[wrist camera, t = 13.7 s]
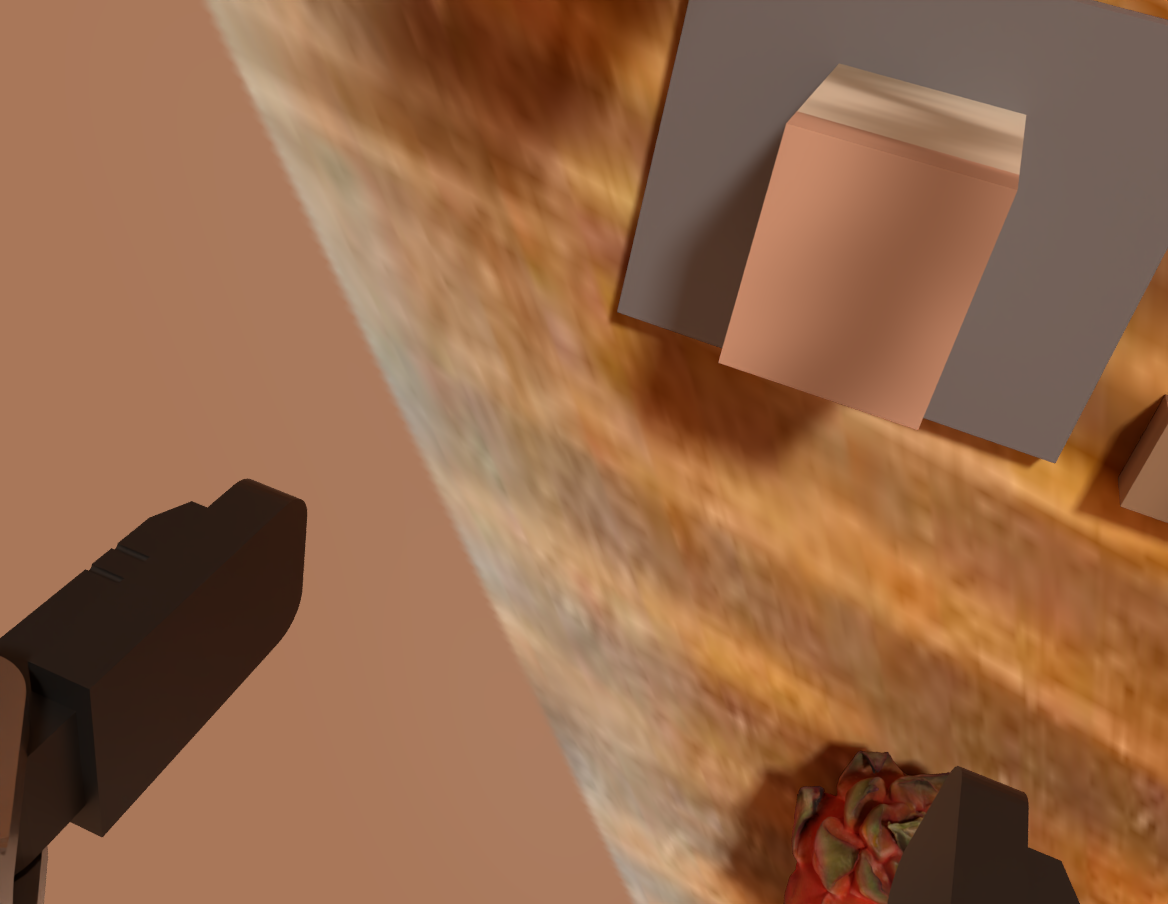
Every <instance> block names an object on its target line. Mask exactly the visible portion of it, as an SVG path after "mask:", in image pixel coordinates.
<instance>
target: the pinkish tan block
mask: <svg viewBox="0 0 1168 904" xmlns="http://www.w3.org/2000/svg"><path fill="white" fill-rule="evenodd" d="M1025 122H1026V115H1025V114H1021V113H1018V112H1014V111H1010V110H1007V109H1003V108H999V107H996V106H992V105H989V104H985V103H981V102H978V101H974V100H970V99H967V98H963V97H959V96H956V95H952V94H948V93H945V92H941V91H938V90H934V89H930V88H927V87H923V86H919V85H916V84H912V83H908V82H905V81H901V80H898V79H894V78H890V77H887V76H883V75H879V74H876V73H872V72H868V71H865V70H861V69H858V68H854V67H850V66H847V65H843V64H838V65H837V66H836V67H835V69H834V70H833V71H832V72H831V73H830V74H829V75H828V77H827V78H826V79H825V80H824V81H823V82H822V83H821V84H820V86H819V87H818V88H817V89H816V90H815V91H814V92H813V94H812V95H811V96H810V97H809V98H808V99H807V100H806V102H805V103H804V104H803V105H802V106H801V107H800V108H799V109H798V111H797V112H796V113H795V114H794V115H793V116H792V117H791V119H790V120H789V121H788V122H787V123H786V126H785V130H784V133H783V137H782V140H781V144H780V147H779V151H778V154H777V158H776V161H775V165H774V168H773V172H772V175H771V179H770V182H769V186H768V189H767V193H766V196H765V200H764V203H763V207H762V210H761V214H760V218H759V221H758V225H757V228H756V232H755V235H754V239H753V242H752V246H751V249H750V253H749V256H748V260H747V263H746V267H745V270H744V274H743V277H742V281H741V284H740V288H739V291H738V295H737V299H736V302H735V306H734V309H733V313H732V316H731V320H730V323H729V327H728V330H727V334H726V337H725V341H724V344H723V348H722V351H721V355H720V358H719V362H718V363H721V364H724V365H727V366H730V367H733V368H736V369H738V370H741V371H744V372H747V373H750V374H753V375H756V376H759V377H762V378H765V379H768V380H771V381H774V382H777V383H780V384H783V385H786V386H789V387H792V388H795V389H797V390H800V391H803V392H806V393H809V394H812V395H815V396H818V397H821V398H824V399H827V400H830V401H833V402H836V403H839V404H842V405H845V406H848V407H851V408H854V409H857V410H859V411H862V412H865V413H868V414H871V415H874V416H877V417H880V418H883V419H886V420H889V421H892V422H895V423H898V424H901V425H904V426H907V427H910V428H913V429H916V430H918V429H919V427H920V424H921V422H922V419H923V417H924V415H925V412H926V410H927V407H928V405H929V403H930V400H931V398H932V395H933V393H934V390H935V388H936V386H937V383H938V381H939V378H940V376H941V374H942V371H943V369H944V366H945V364H946V362H947V359H948V357H949V354H950V352H951V349H952V347H953V345H954V342H955V340H956V337H957V335H958V333H959V330H960V328H961V325H962V323H963V321H964V318H965V316H966V313H967V311H968V309H969V306H970V304H971V301H972V299H973V296H974V294H975V292H976V289H977V287H978V284H979V282H980V280H981V277H982V275H983V272H984V270H985V268H986V265H987V263H988V260H989V258H990V255H991V253H992V251H993V248H994V246H995V243H996V241H997V239H998V236H999V234H1000V231H1001V229H1002V227H1003V224H1004V222H1005V219H1006V217H1007V214H1008V212H1009V210H1010V207H1011V205H1012V202H1013V200H1014V198H1015V195H1016V193H1017V190H1018V182H1019V174H1020V165H1021V157H1022V148H1023V140H1024V131H1025Z"/></svg>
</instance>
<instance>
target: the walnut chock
mask: <svg viewBox="0 0 1168 904" xmlns="http://www.w3.org/2000/svg"><path fill="white" fill-rule="evenodd" d="M1118 485H1119V497H1120V506H1121V507H1123V508H1126V509H1129V510H1132V511H1135V512H1138V513H1141V514H1143V515H1146V516H1149V517H1152V518H1155V519H1158V520H1161V521H1163V522H1166V523H1168V395H1166V394H1165V396H1164V398H1163V400H1162V401H1161V403H1160V405H1159V407H1158V409H1157V410H1156V412H1155V414H1154V416H1153V417H1152V419H1151V421H1150V423H1149V424H1148V426H1147V428H1146V430H1145V432H1144V433H1143V435H1142V437H1141V439H1140V440H1139V442H1138V444H1137V446H1136V447H1135V449H1134V451H1133V453H1132V455H1131V456H1130V458H1129V460H1128V462H1127V463H1126V465H1125V467H1124V469H1123V470H1122V472H1121V474H1120V476H1119V478H1118Z"/></svg>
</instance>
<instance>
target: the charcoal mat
mask: <svg viewBox="0 0 1168 904" xmlns="http://www.w3.org/2000/svg"><path fill="white" fill-rule="evenodd" d="M838 64H843V65H847V66H850V67H854V68H858V69H861V70H865V71H868V72H872V73H876V74H879V75H883V76H887V77H890V78H894V79H898V80H901V81H905V82H908V83H912V84H916V85H919V86H923V87H927V88H930V89H934V90H938V91H941V92H945V93H948V94H952V95H956V96H959V97H963V98H967V99H970V100H974V101H978V102H981V103H985V104H989V105H992V106H996V107H999V108H1003V109H1007V110H1010V111H1014V112H1018V113H1021V114H1025V115H1026V122H1025V131H1024V140H1023V148H1022V157H1021V165H1020V174H1019V182H1018V190H1017V193H1016V195H1015V198H1014V200H1013V202H1012V205H1011V207H1010V210H1009V212H1008V214H1007V217H1006V219H1005V222H1004V224H1003V227H1002V229H1001V231H1000V234H999V236H998V239H997V241H996V243H995V246H994V248H993V251H992V253H991V255H990V258H989V260H988V263H987V265H986V268H985V270H984V272H983V275H982V277H981V280H980V282H979V284H978V287H977V289H976V292H975V294H974V296H973V299H972V301H971V304H970V306H969V309H968V311H967V313H966V316H965V318H964V321H963V323H962V325H961V328H960V330H959V333H958V335H957V337H956V340H955V342H954V345H953V347H952V349H951V352H950V354H949V357H948V359H947V362H946V364H945V366H944V369H943V371H942V374H941V376H940V378H939V381H938V383H937V386H936V388H935V390H934V393H933V395H932V398H931V400H930V403H929V405H928V407H927V410H926V412H925V415H924V417H923V418H925V419H928V420H931V421H934V422H937V423H939V424H942V425H945V426H948V427H951V428H954V429H957V430H960V431H963V432H965V433H968V434H971V435H974V436H977V437H980V438H983V439H986V440H989V441H991V442H994V443H997V444H1000V445H1003V446H1006V447H1009V448H1012V449H1015V450H1018V451H1020V452H1023V453H1026V454H1029V455H1032V456H1035V457H1038V458H1041V459H1044V460H1046V461H1049V462H1052V463H1056V461H1057V459H1058V457H1059V455H1060V453H1061V451H1062V450H1063V448H1064V446H1065V444H1066V442H1067V440H1068V438H1069V436H1070V434H1071V432H1072V430H1073V428H1074V427H1075V425H1076V423H1077V421H1078V419H1079V417H1080V415H1081V413H1082V411H1083V409H1084V407H1085V405H1086V404H1087V402H1088V400H1089V398H1090V396H1091V394H1092V392H1093V390H1094V388H1095V386H1096V384H1097V382H1098V381H1099V379H1100V377H1101V375H1102V373H1103V371H1104V369H1105V367H1106V365H1107V363H1108V361H1109V359H1110V357H1111V356H1112V354H1113V352H1114V350H1115V348H1116V346H1117V344H1118V342H1119V340H1120V338H1121V336H1122V334H1123V333H1124V331H1125V329H1126V327H1127V325H1128V323H1129V321H1130V319H1131V317H1132V315H1133V313H1134V311H1135V310H1136V308H1137V306H1138V304H1139V302H1140V300H1141V298H1142V296H1143V294H1144V292H1145V290H1146V288H1147V287H1148V285H1149V283H1150V281H1151V279H1152V277H1153V275H1154V273H1155V271H1156V269H1157V267H1158V265H1159V263H1160V262H1161V260H1162V258H1163V256H1164V254H1165V252H1166V250H1167V248H1168V20H1166V19H1162V18H1158V17H1154V16H1150V15H1147V14H1143V13H1139V12H1135V11H1131V10H1127V9H1124V8H1120V7H1116V6H1112V5H1108V4H1105V3H1101V2H1097V1H1093V0H689V3H688V7H687V11H686V16H685V20H684V24H683V29H682V33H681V37H680V42H679V46H678V50H677V55H676V59H675V63H674V68H673V72H672V76H671V81H670V85H669V89H668V94H667V98H666V102H665V107H664V111H663V115H662V120H661V124H660V128H659V133H658V137H657V141H656V146H655V150H654V154H653V159H652V163H651V167H650V172H649V176H648V180H647V185H646V189H645V193H644V198H643V202H642V206H641V211H640V215H639V219H638V224H637V228H636V232H635V237H634V241H633V245H632V250H631V254H630V258H629V263H628V267H627V271H626V276H625V280H624V284H623V289H622V293H621V297H620V302H619V306H618V310H617V312H618V313H621V314H624V315H627V316H630V317H633V318H636V319H639V320H642V321H644V322H647V323H650V324H653V325H656V326H659V327H662V328H665V329H668V330H671V331H673V332H676V333H679V334H682V335H685V336H688V337H691V338H694V339H697V340H699V341H702V342H705V343H708V344H711V345H714V346H717V347H720V348H723V344H724V341H725V337H726V334H727V330H728V327H729V323H730V320H731V316H732V313H733V309H734V306H735V302H736V299H737V295H738V291H739V288H740V284H741V281H742V277H743V274H744V270H745V267H746V263H747V260H748V256H749V253H750V249H751V246H752V242H753V239H754V235H755V232H756V228H757V225H758V221H759V218H760V214H761V210H762V207H763V203H764V200H765V196H766V193H767V189H768V186H769V182H770V179H771V175H772V172H773V168H774V165H775V161H776V158H777V154H778V151H779V147H780V144H781V140H782V137H783V133H784V130H785V126H786V123H787V122H788V121H789V120H790V119H791V117H792V116H793V115H794V114H795V113H796V112H797V111H798V109H799V108H800V107H801V106H802V105H803V104H804V103H805V102H806V100H807V99H808V98H809V97H810V96H811V95H812V94H813V92H814V91H815V90H816V89H817V88H818V87H819V86H820V84H821V83H822V82H823V81H824V80H825V79H826V78H827V77H828V75H829V74H830V73H831V72H832V71H833V70H834V69H835V67H836V66H837V65H838Z"/></svg>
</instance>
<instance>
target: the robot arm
mask: <svg viewBox="0 0 1168 904" xmlns="http://www.w3.org/2000/svg"><path fill="white" fill-rule="evenodd" d="M306 523H307V507H306V504H305V502H304V501H303V500H301V499H299V498H296V497H294V496H291V495H289V494H286V493H284V492H281V491H279V490H276V489H274V488H271V487H269V486H266V485H264V484H261V483H259V482H256V481H254V480H251V479H243V480H241V481H239V482H237V483H236V484H235V485H233V486H232V487H231V488H230V489H229V490H228V491H226V492H225V493H224V494H223V495H222V496H221V497H219V498H218V499H217V500H216V501H215V502H213V503H212V504H211V505H210V506H209V507H208V508H207V507H205V506H202V505H199V504H197V503H195V502H192V501H191V502H189V503H186V504H183V505H181V506H178V507H176V508H173V509H171V510H168V511H166V512H163V513H160V514H158V515H155V516H153V517H150V518H148V519H147V520H146V521H145V522H143V523H142V524H141V525H140V526H139V527H138V528H136V529H135V530H134V531H132V532H131V533H130V534H129V535H128V536H126V537H125V538H124V539H122V540H121V541H120V542H119V543H118V545H117V547H116V549H115V550H114V549H112V548H111V549H110V550H109V551H108V552H106V553H105V554H104V555H103V556H101V557H100V558H99V559H98V560H96V562H94V563H93V564H92V567H91V569H90V570H89V571H88V570H84V571H83V572H82V573H80V574H79V575H78V576H77V577H75V578H74V579H73V580H72V581H70V582H69V583H68V584H67V585H66V586H64V587H63V588H62V589H61V590H59V591H58V592H57V593H56V594H54V595H53V596H52V597H51V598H49V599H48V600H47V601H46V602H44V603H43V604H42V605H41V606H40V607H38V608H37V609H36V610H35V611H33V612H32V613H31V614H30V615H28V616H27V617H26V618H25V619H24V620H22V621H21V622H20V623H19V624H17V625H16V626H15V627H14V628H12V629H11V630H10V631H9V632H7V633H6V634H5V635H4V636H2V637H1V638H0V904H44V895H45V884H46V873H47V861H48V848H47V845H48V844H49V843H50V842H51V841H52V840H53V839H54V838H55V837H56V836H57V835H58V834H59V833H60V831H61V830H62V829H63V828H64V827H65V826H66V825H67V824H68V823H69V822H72V823H74V824H76V825H78V826H80V827H82V828H84V829H86V830H88V831H90V832H92V833H94V834H96V835H98V836H100V837H103V836H104V835H105V834H106V833H107V832H108V831H109V829H110V828H111V827H112V826H113V825H114V824H115V823H116V822H117V821H118V820H119V818H120V817H121V816H122V815H123V814H124V813H125V812H126V811H127V809H129V807H130V806H131V805H132V804H133V803H134V802H135V801H136V800H137V799H138V797H139V796H140V795H141V794H142V793H143V792H144V791H145V790H146V789H147V787H148V786H149V785H150V784H151V783H152V782H153V781H154V780H155V779H156V778H157V776H158V775H159V774H160V773H161V772H162V771H163V770H164V769H165V768H166V766H167V765H168V764H169V763H170V762H171V761H172V760H173V759H174V758H175V757H176V755H177V754H178V753H179V752H180V751H181V750H182V749H183V748H184V747H185V745H186V744H187V743H188V742H189V741H190V740H191V739H192V738H193V737H194V736H195V734H196V733H197V732H198V731H199V730H200V729H201V728H202V727H203V726H204V725H205V723H206V722H207V721H208V720H209V719H210V718H211V717H212V716H213V715H214V713H215V712H216V711H217V710H218V709H219V708H220V707H221V706H222V705H223V704H224V702H225V701H226V700H227V699H228V698H229V697H230V696H231V695H232V694H233V692H234V691H235V690H236V689H237V688H238V687H239V686H240V685H241V684H242V682H243V681H244V680H245V679H246V678H247V677H248V676H249V675H250V674H251V672H252V671H253V670H254V669H255V668H256V667H257V666H258V665H259V664H260V663H261V661H262V660H263V659H264V658H265V657H266V656H267V655H268V654H269V652H270V651H271V650H272V649H273V648H274V647H275V646H276V645H277V644H278V643H279V641H280V640H281V639H282V637H283V636H284V635H285V634H286V632H287V630H288V629H289V627H290V625H291V623H292V622H293V620H294V617H295V615H296V613H297V610H298V607H299V604H300V600H301V595H302V586H303V571H304V556H305V555H304V554H305V540H306V525H307V524H306ZM1028 810H1029V808H1028V798H1027V795H1026V794H1025V793H1024V792H1021V791H1019V790H1017V789H1014V788H1012V787H1009V786H1007V785H1004V784H1002V783H999V782H997V781H994V780H992V779H989V778H987V777H984V776H982V775H979V774H977V773H974V772H972V771H969V770H967V769H964V768H962V767H959V766H957V767H955V768H954V769H953V770H952V771H951V772H950V774H949V775H948V777H947V778H946V780H945V782H944V783H943V785H942V787H941V789H940V790H939V792H938V794H937V795H936V797H935V799H934V801H933V802H932V804H931V806H930V807H929V809H928V811H927V813H926V814H925V816H924V818H923V820H922V821H921V823H920V825H919V826H918V828H917V830H916V832H915V833H914V835H913V837H912V838H911V840H910V842H909V844H908V845H907V847H906V849H905V851H904V853H903V855H902V857H901V860H900V862H899V864H898V867H897V870H896V873H895V876H894V879H893V882H892V886H891V889H890V893H889V898H888V903H887V904H1080V903H1079V901H1078V898H1077V896H1076V894H1075V891H1074V889H1073V887H1072V884H1071V882H1070V880H1069V878H1068V875H1067V873H1066V871H1065V868H1064V866H1063V864H1062V861H1060V860H1058V859H1055V858H1053V857H1050V856H1048V855H1045V854H1043V853H1041V852H1038V851H1036V850H1033V849H1031V848H1028Z"/></svg>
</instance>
